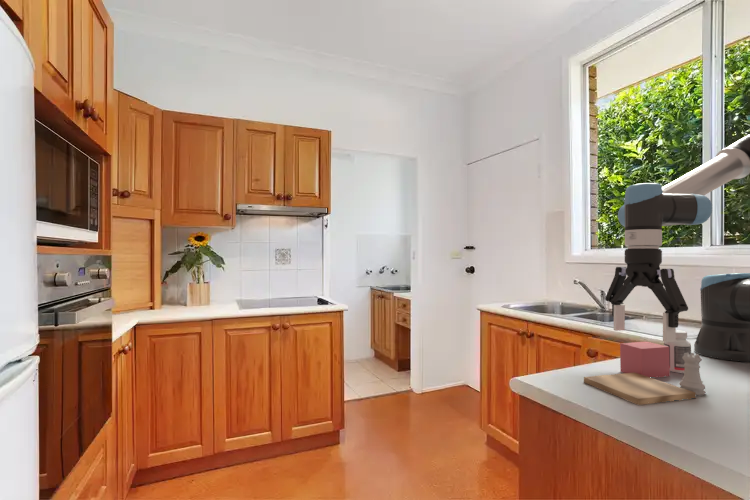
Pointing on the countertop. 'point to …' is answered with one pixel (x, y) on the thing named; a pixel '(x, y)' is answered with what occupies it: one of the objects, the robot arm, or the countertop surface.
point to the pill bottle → (678, 351)
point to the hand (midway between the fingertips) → (642, 335)
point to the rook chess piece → (692, 374)
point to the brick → (644, 359)
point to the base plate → (638, 388)
